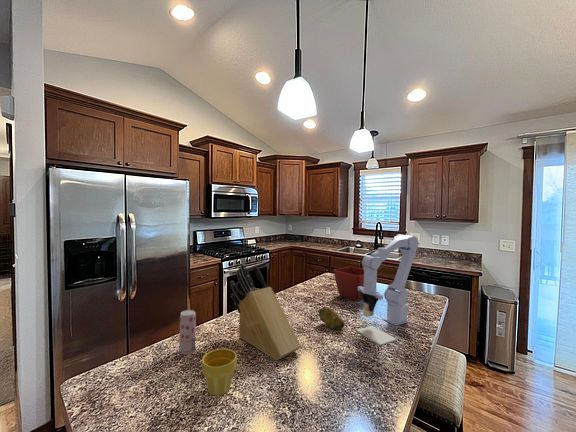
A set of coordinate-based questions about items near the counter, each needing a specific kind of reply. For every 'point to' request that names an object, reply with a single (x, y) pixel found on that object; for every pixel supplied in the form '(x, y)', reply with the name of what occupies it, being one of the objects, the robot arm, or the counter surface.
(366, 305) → the green-faced wooden block
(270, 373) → the counter surface
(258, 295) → the knife block
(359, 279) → the plant pot
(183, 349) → the beverage can
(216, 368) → the plant pot
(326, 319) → the potato
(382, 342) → the mat
